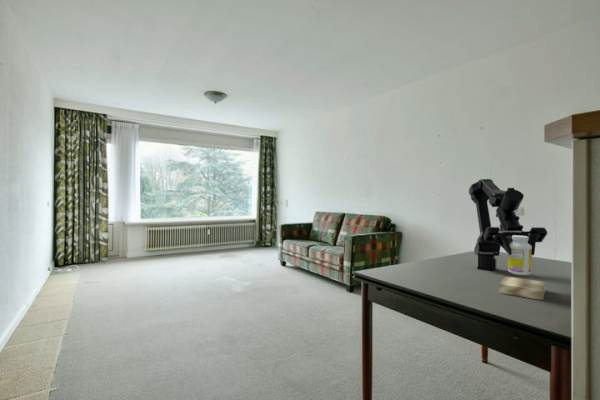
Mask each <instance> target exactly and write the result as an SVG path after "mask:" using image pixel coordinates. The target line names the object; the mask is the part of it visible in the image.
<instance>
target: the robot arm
mask: <svg viewBox="0 0 600 400" xmlns="http://www.w3.org/2000/svg"><path fill="white" fill-rule="evenodd" d="M468 194H469V196H470V199H471V201H472V202H473V203H474V204H475V205H476V206H475V208H476V213H477V221H478V227H479V235H478V237H477V239H476V243H475V246H474V254H475V255H476V256H477V266H476V269H478V270H483V271H484V270H485V271H490V272H491V271H493V272H494V271H495V270H496V269H497V261H498V260H497V259H498V258H496V256H497V257H499V256H500V252H501V247H502V249H503V250H504V251H505V252H506V253H507V254H509V255H511V249H510V246H509V244H510V243H512V242H513V240H512V236H513V235H521V236H528V237H529V240H528V244H530V245H531V246H532V256H534V255H535V251H536V244H537V243H542V242H543V240H544V239H545V238H546V236H547V235H548V231H547V228H546V227H542V226H541V227H539V226H538V227H537V226H536V227H534V226H532V227H531V228H530V229H529V231H524V230H523V229H524V225H522V224H521V223H520V221H519V220H520V216H519V215H517V214H516V212H515V211H517V210H518V209H519V207H520V206H521V204H522V201H523V199H524V197H525V195H524V194H523V193H522V192H521V191H519V190H518V189H515V188H514V187H507V189H506V190H502V189H500V188H499V187H498V186H497V185H496V184H495V183H494V182H493V179H490V178H484V179H482V178H481V179H478V181H477V182H474V183H472V184H471V185H470V186H469V188H468ZM488 203H489V205H490V206H491V207H492V208H496V209H495V212H496V214H495V217H496V218H498V220H499V226H492V224H491V218H490V217H491V216H490V211H489V205H488Z"/></svg>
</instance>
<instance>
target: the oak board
mask: <svg viewBox="0 0 600 400" xmlns="http://www.w3.org/2000/svg"><path fill="white" fill-rule="evenodd" d="M546 284H547V283H546V281H540V280H534V279H533V280H532V279H528V278H527V279H525V278H520V277H513V276H512V277H511V276H504V277H503V279H502V280H501V281H500V282H499V286H498V287H499V288H498V291H499V293H500V294H504V295H510V296H515V297H523V298H528V299H529V298H530V299H534V300H541V301H544V298H545V293H546V290H547V289H546V288H547V286H546Z"/></svg>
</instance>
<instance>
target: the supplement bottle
mask: <svg viewBox="0 0 600 400" xmlns="http://www.w3.org/2000/svg"><path fill="white" fill-rule="evenodd" d="M512 240H513V242H512V243H510V244H509V246H510V249H511V255H509V254H508V253H507V254H508V255H507V256H508V257H507V271H508V272H509V273H511V274H514V275H517V276H518V275H519V276H529V275H531V273H532V256H533V255H532V246H531V245H530V244H528V240H529V237H528V236H521V235H513V236H512Z"/></svg>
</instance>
